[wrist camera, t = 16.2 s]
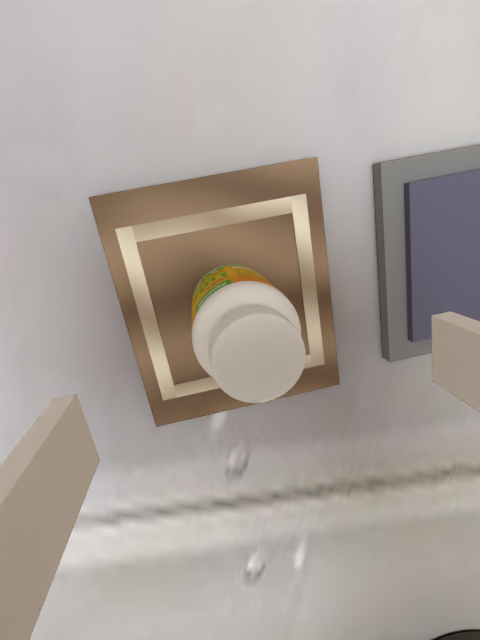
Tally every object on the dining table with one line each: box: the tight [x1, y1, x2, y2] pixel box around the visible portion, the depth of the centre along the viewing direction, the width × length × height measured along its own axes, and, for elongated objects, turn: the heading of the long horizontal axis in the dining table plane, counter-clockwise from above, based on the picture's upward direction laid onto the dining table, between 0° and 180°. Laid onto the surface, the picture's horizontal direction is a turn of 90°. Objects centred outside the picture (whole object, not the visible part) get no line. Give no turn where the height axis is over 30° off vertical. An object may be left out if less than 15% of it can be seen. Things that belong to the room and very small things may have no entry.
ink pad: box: [373, 145, 480, 362], centre depth 24 cm, size 14×12×2 cm
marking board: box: [89, 157, 339, 427], centre depth 23 cm, size 16×14×1 cm
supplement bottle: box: [191, 264, 306, 403], centre depth 19 cm, size 5×5×10 cm
